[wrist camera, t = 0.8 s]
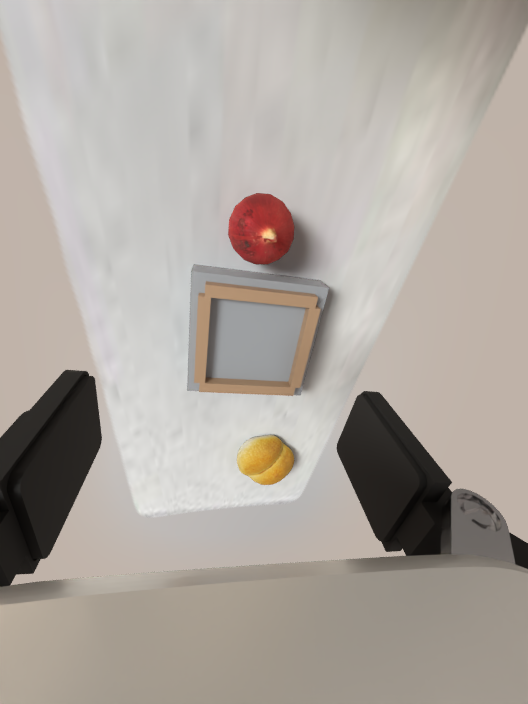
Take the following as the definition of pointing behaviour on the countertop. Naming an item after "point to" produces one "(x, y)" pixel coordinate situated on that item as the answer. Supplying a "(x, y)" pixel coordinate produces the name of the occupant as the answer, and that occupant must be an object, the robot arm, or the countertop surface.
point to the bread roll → (265, 459)
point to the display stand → (251, 331)
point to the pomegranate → (261, 229)
